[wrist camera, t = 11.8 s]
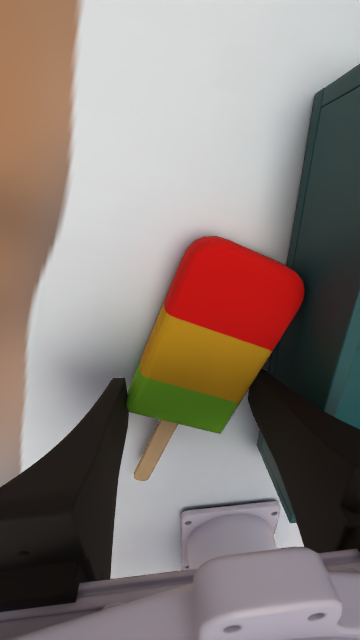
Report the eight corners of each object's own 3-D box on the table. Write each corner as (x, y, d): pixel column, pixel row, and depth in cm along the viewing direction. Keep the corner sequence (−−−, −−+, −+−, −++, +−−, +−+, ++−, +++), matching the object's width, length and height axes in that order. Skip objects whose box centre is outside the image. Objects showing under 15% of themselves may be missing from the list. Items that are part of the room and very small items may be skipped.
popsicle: (298, 270, 12) (322, 281, 10) (179, 472, 17) (181, 501, 16) (193, 223, 11) (200, 227, 9) (98, 457, 16) (92, 487, 14)
